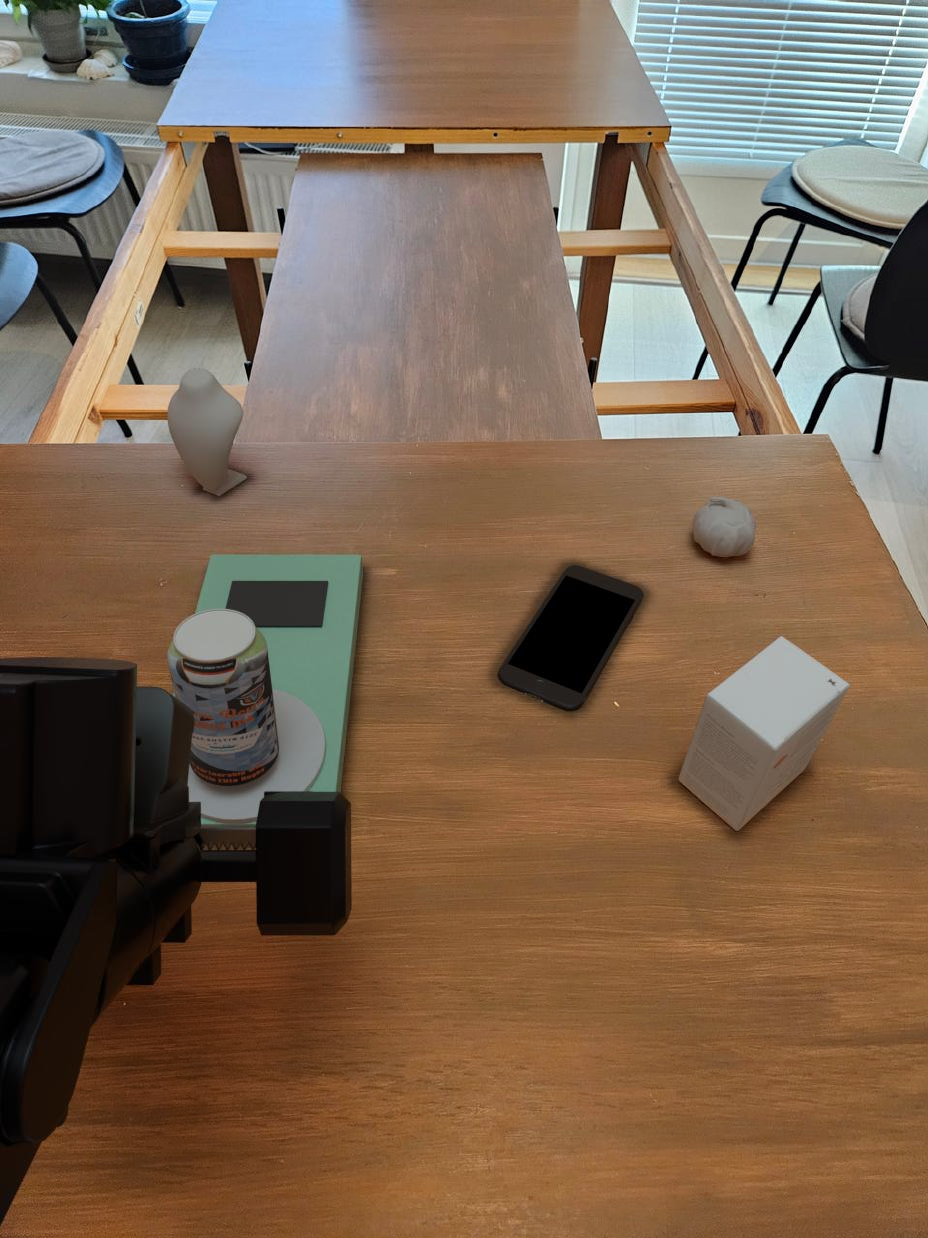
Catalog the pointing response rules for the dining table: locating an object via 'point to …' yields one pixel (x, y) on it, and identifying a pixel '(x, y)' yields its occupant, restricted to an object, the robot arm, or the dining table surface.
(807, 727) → the small box
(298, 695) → the scale
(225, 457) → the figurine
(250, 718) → the beverage can
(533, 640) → the smartphone
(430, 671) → the dining table surface
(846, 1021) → the dining table surface
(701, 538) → the garlic
